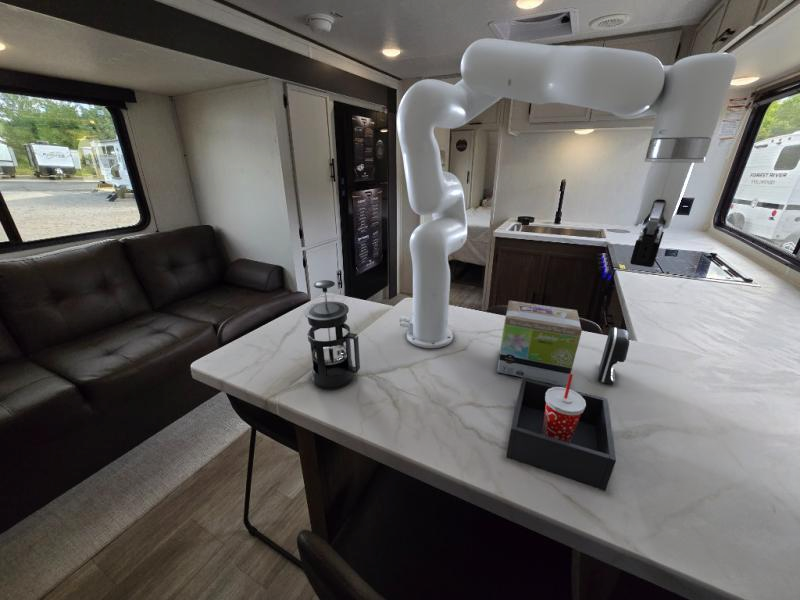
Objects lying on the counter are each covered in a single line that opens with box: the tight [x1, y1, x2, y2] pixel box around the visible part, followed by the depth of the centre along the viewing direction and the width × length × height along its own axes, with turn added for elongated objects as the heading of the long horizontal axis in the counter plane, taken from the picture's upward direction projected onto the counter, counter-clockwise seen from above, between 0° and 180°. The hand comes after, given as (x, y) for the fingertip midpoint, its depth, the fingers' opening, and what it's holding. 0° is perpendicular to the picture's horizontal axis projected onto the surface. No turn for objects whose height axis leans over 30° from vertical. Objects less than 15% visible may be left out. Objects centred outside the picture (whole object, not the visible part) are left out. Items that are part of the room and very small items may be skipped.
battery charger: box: [597, 327, 630, 385], centre depth 74 cm, size 7×4×11 cm, turn 149°
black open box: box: [505, 377, 617, 492], centre depth 59 cm, size 15×15×6 cm
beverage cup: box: [542, 372, 586, 443], centre depth 57 cm, size 6×6×14 cm
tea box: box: [497, 300, 583, 388], centre depth 77 cm, size 15×10×15 cm, turn 70°
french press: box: [304, 279, 361, 391], centre depth 72 cm, size 12×9×23 cm
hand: (644, 258), depth 60 cm, fingers open, 9 cm apart
